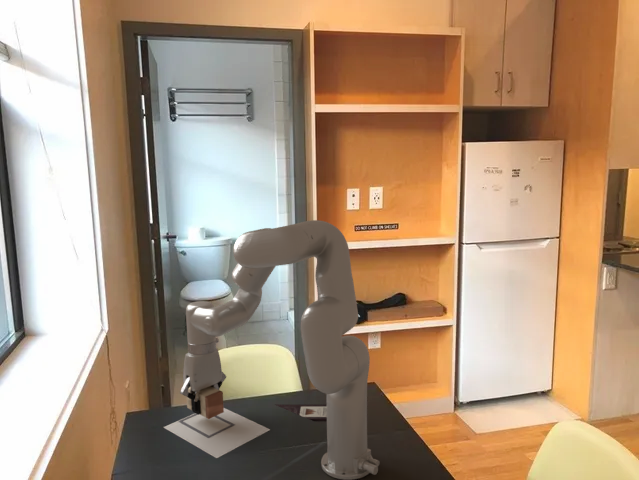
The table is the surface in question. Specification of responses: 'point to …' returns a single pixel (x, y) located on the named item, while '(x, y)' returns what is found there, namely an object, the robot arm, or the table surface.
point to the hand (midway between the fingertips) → (205, 408)
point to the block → (209, 402)
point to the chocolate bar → (308, 411)
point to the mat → (217, 431)
